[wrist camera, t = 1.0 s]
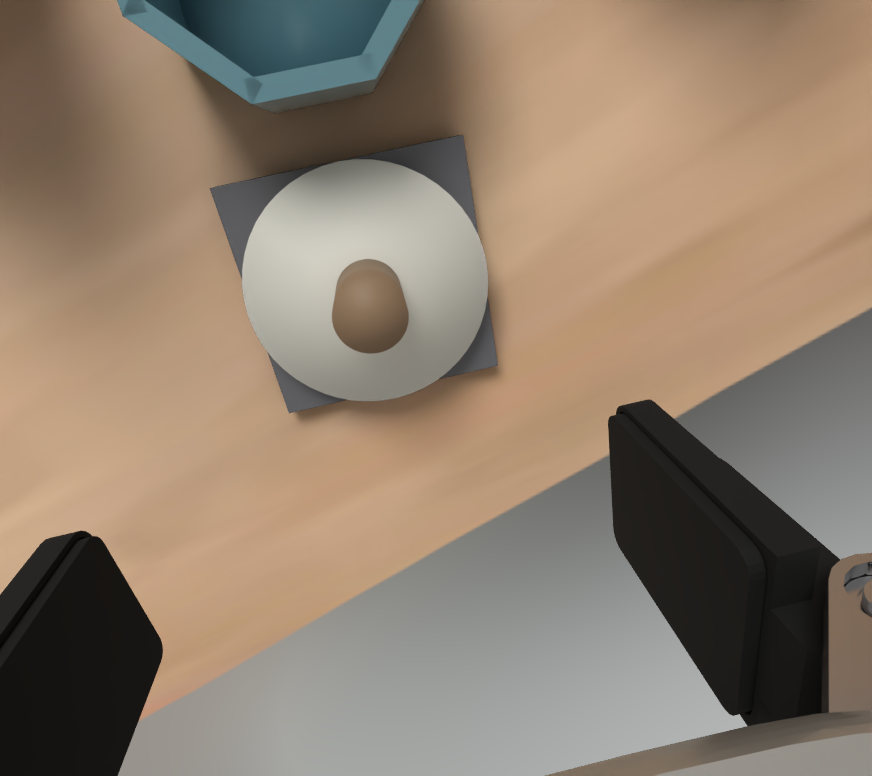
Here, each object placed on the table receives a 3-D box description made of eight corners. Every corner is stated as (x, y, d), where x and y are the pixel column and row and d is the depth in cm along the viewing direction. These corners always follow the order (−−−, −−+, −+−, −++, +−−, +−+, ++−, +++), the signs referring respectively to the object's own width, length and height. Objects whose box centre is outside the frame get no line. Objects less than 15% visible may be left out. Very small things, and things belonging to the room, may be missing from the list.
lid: (463, 135, 25) (489, 132, 20) (497, 365, 30) (525, 409, 25) (210, 188, 25) (171, 199, 20) (289, 413, 30) (274, 467, 25)
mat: (459, 135, 26) (463, 134, 25) (493, 359, 31) (497, 365, 30) (215, 186, 25) (209, 188, 25) (291, 405, 31) (289, 413, 30)
